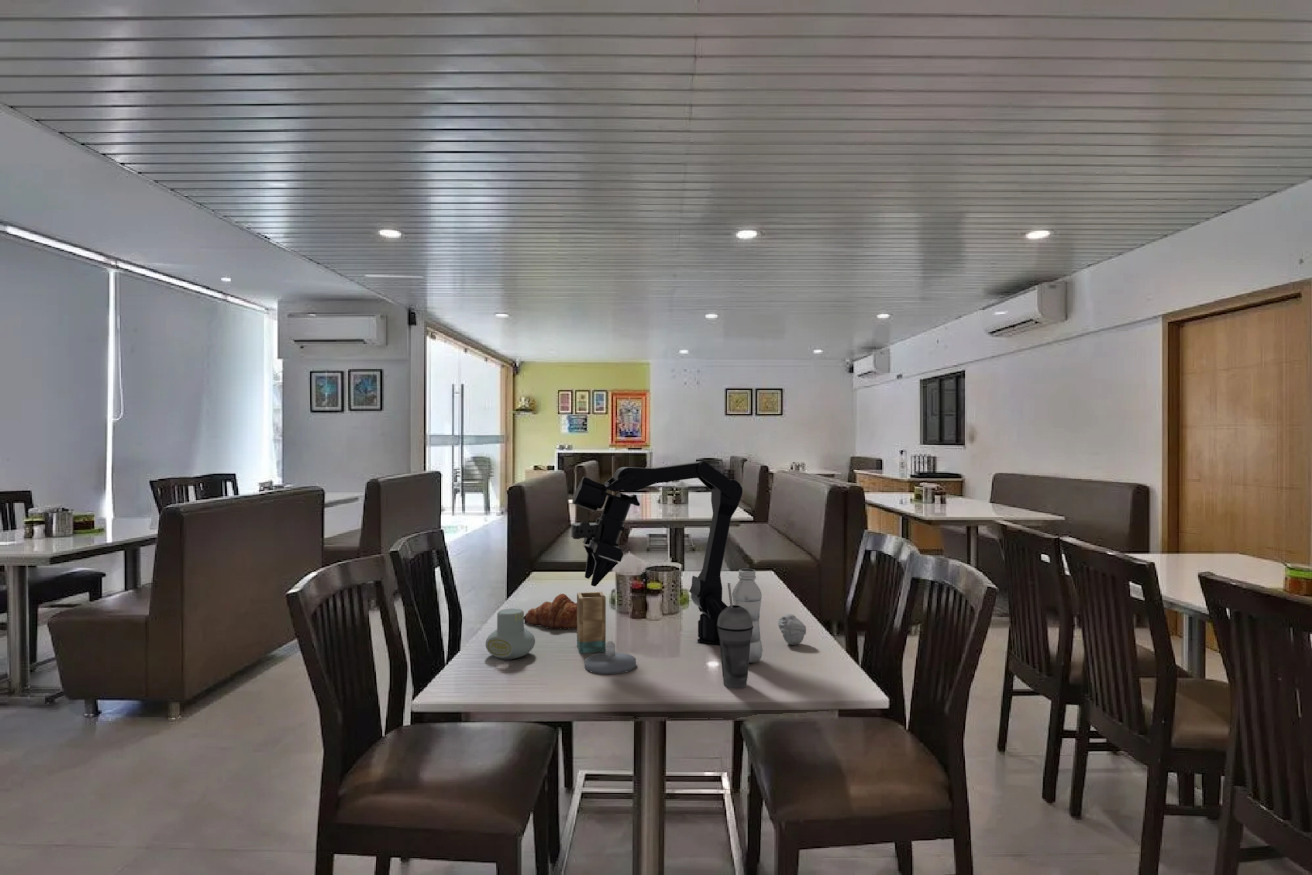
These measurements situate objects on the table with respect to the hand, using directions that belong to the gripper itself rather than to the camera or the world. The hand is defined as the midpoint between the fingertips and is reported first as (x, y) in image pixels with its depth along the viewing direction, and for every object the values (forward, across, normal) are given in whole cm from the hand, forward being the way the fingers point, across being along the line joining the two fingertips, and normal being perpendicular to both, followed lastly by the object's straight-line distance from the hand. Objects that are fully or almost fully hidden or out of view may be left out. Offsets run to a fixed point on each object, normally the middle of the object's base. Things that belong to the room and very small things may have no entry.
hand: (589, 581), depth 155 cm
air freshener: (+21, -1, -11) cm, 24 cm away
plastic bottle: (+4, +17, +36) cm, 40 cm away
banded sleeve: (+15, -1, +6) cm, 16 cm away
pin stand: (+14, +12, +8) cm, 20 cm away
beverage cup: (+7, +30, +28) cm, 42 cm away
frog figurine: (-2, +8, +50) cm, 51 cm away
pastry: (+16, -25, +3) cm, 30 cm away
